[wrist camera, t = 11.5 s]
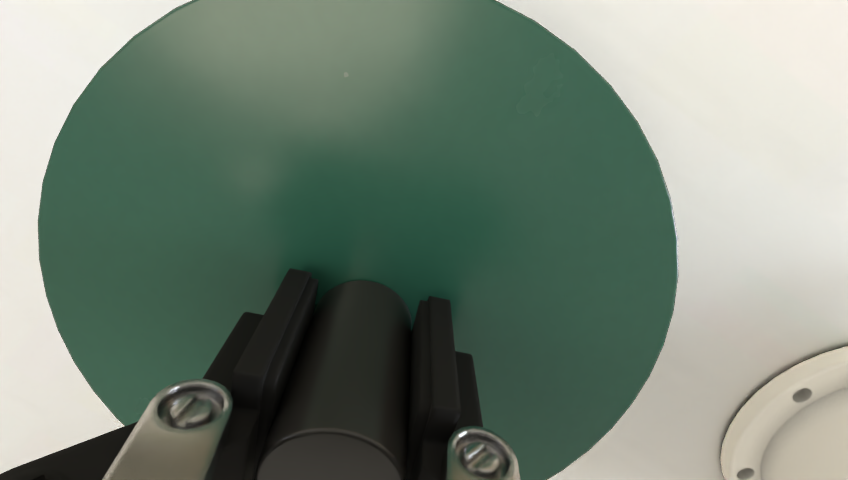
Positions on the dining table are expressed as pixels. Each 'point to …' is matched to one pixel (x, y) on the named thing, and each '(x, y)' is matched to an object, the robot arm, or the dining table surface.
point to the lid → (363, 221)
